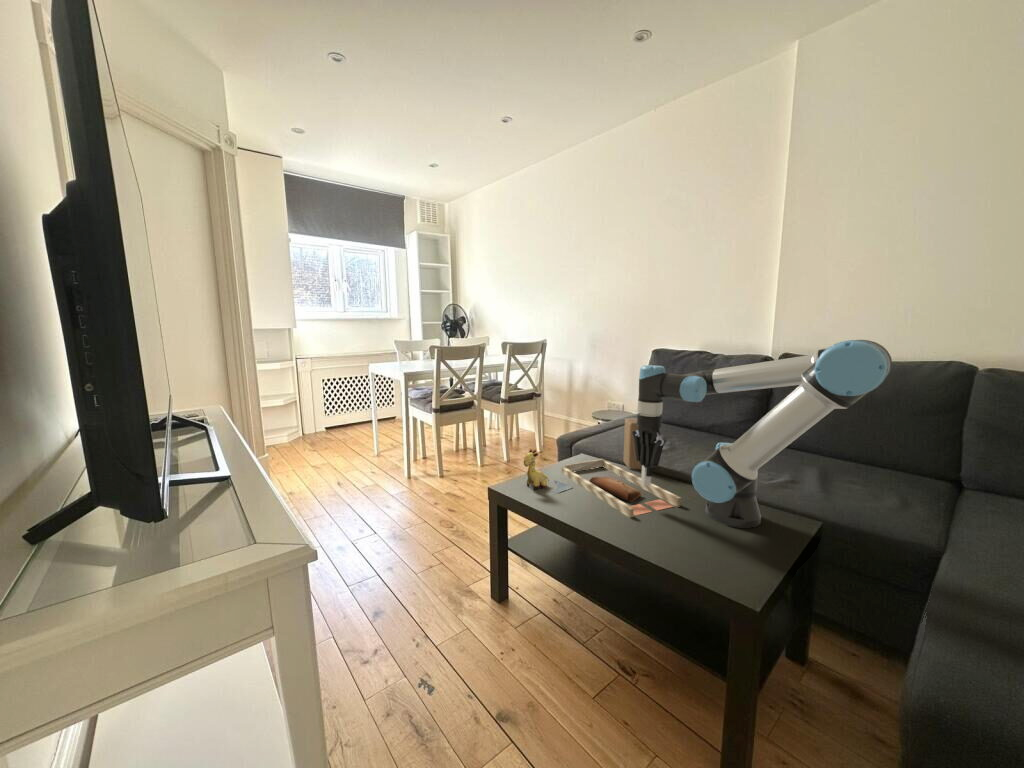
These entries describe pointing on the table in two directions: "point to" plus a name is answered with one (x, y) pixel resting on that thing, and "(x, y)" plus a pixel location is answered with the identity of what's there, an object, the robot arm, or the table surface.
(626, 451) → the block
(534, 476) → the stuffed giraffe
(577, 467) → the wooden tray
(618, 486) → the sunglasses case
